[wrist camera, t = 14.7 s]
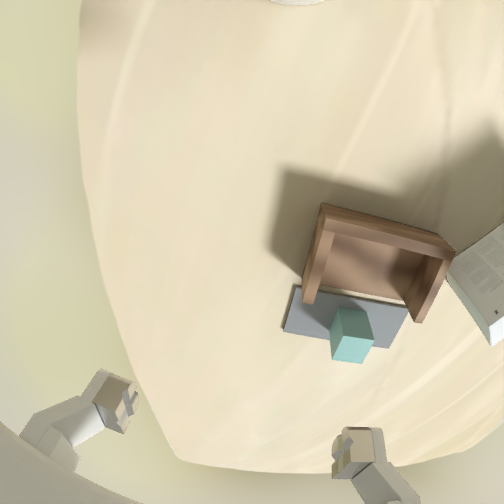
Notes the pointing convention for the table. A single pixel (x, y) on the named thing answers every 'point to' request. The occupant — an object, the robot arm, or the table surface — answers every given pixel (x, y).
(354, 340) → the teal block
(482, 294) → the skincare box
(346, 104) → the table surface
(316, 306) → the grey mat
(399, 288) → the open-fronted box
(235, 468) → the table surface
